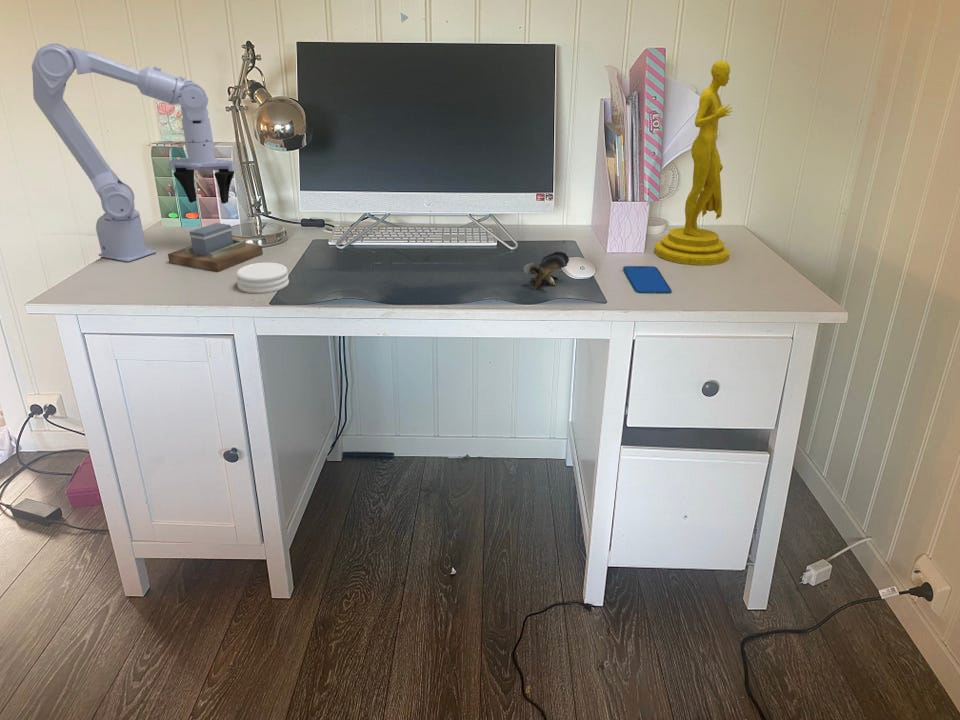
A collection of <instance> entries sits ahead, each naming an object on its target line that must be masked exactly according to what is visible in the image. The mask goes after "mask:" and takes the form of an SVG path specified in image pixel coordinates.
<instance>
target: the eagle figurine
mask: <svg viewBox="0 0 960 720" xmlns="http://www.w3.org/2000/svg"><path fill="white" fill-rule="evenodd" d="M569 261H570V258H569V256H568V255H567V253H566V252H563V251H554V252H552V253H549V254H548V255H545V256H543V257H542V259H541V261H540V263H539V266H537V265H536V264H535V263H533V262H531V263H530V262H529V263H528V264H526V265H524V266H523V271H524V273H525V274H526V275H531V276H533V275H534V276H535V277H530V279H529V280H532V281H535V283H534V284H535V285H534V289H535V288H536V289H538V287H540V286H541V285H542V281H546V282H548V283H550V285H553V286H554V285H555V286H556V281H555V280H554V278H556V279H559V276H555V275H554V274H553V271H557V270H559V269H563V268H566V267H567V266H568V263H569Z"/></svg>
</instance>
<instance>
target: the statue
mask: <svg viewBox="0 0 960 720" xmlns="http://www.w3.org/2000/svg"><path fill="white" fill-rule="evenodd" d="M730 66H731V65H730V64H729V62H728V61H725V60H718V61H716V62H714V63H713V65H712V66H711V70H710V72H711V73H710V75H711V77H712V79H711V83H710V85H709V86H708V87H707V88H705V89H704V90H703V91H702V92H701V94H700V97H699V104H698V110H697V113H696V116H695V120H694V126H695V127H696V128H699V132H698V134H697V136H696V137H695V139H694V140H693V143H692V144H691V157H692V161H693V174H692V187H691V190H690V192H689V193H688V195H687V198H686V200H685V206H684V207H685V208H684V214H685V224H684V227H676V228H672V229H670V230H669V231H668V233H667V234H666V235H663V236H662V238H661V240H659V241H657V242H656V243H655V244H654V248H653V253H655V255H656V256H658V257H659V258H661V259H664V260H666V261H668V262H673V263H677V264H683V265H691V266H692V265H693V266H712V265H718V264H723V263H725V262H727V261H729V257H730V250H729V249H728V248H727V247H726V246H725V242H724V241H723V240H721V239H720V237H719V236H720V235H719V234H718V233H717V232H715V231H712V230H709V229H706V228H699V227H698V222H697V221H698V217H699V216H700V213H701V215H702V216H701V217H702V218H703V217H704V216H705V215H707V212H714V213H716V216H715V220H717V219H720V218H721V217H722V212H723V211H722V209H723V202H722V201H723V199H722V185H721V174H720V173H721V172H722V170H723V169H724V167H723V164H722V163H721V157H720V153H719V151H718V148H717V138H718V127H719V119H721V118H725V117H729V116H731V114H730V113H732V112H733V111H732V110H731V109H733V106H730V105H731V103H728V104H727V105H724V104H722V101H721V99H720V98H721V96H720V95H719V93H718V91H719V89H720V87H726V86H727V84H728V83H729V80H730V73H731V67H730ZM729 106H730V107H729Z"/></svg>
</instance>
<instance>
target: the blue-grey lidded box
mask: <svg viewBox="0 0 960 720" xmlns="http://www.w3.org/2000/svg"><path fill="white" fill-rule="evenodd" d="M232 232H233V231H232V228H231V224H227V223H226V224H225V223H221V222H216V223H212V224H208V225H206V226H203V227H199V228H197V229H196V228H195V229H194V230H193V229H192V230H190V231H189V237H190V241H191V246H192V248H193V254H196V255H202V256H209V253H210V252H213V251H216V250H219V249H222V248H224V247H227V246H230V245H233V239H232V238H233V233H232Z"/></svg>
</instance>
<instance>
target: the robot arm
mask: <svg viewBox="0 0 960 720" xmlns="http://www.w3.org/2000/svg"><path fill="white" fill-rule="evenodd" d="M75 69H76V75H77V76H78V75H85V74H89V73H91V74H92V73H95V74H98V75H102V76H105V77H108V78H111V79H114V80H118V81H121V82H123V83H127V84H131V85H134V86H136V87H137V89H138V90H139V92H140V93H141V95H143V96H146V97H148V98H149V97H150V98H152V99H155V100H158V101H160V102H164V103H167V104H169V105H172V106H174V105H177V104H178V105H180V110H181V115H182V117H181V118H182V119H181V123H182V130H183V136H184V141H185V147H186V155H187V159H184V158H183V159H182V158H181V159H171V160H169V167H170V170H172V171H173V170H174V172H173V177H174V178H175V179H176V180H177V181H178V183H179V184H180V185H181V187H182V189H183V191H184V192H185V194H186V197H187V198H188V199H187V200H188V202H189V203H194V202H196V201H197V193H196V188H195V171H198V170H200V171H217V172H214V177H215V181H216V182H217V186H218V189H219V190H218V191H219V198H220V202H221V204H227V203H228V202H229V194H230V188H231V184H232V180H233V178H234V175H235V171H236V170H237V164H236V160H225V159H217V158H216V151H215V145H214V140H213V132H212V128H211V127H212V126H211V120H210V118H209V110H208V108H207V106H208V103H209V97H208V96H207V94H206V91H205V89H204V88H203V87H202V86H200V85H199V84H198V83H196V82H194V81H192V80H186V77H184V76H181V75H180V76H179V77H178V76H175V75H172V74H169V73H167V72H164V71H162V68H161V67H158V66H156V65H155V66H153V68H152V67H150V66H146V67H144V68H142V69H136V68H133V67H131V66H128V65H125V64H123V63H120V62H118V61H115V60H112V59H110V58H107V57H105V56H102V55H99V54H96V53H95V52H91V51H89V50H84V49H80V48H78V47H77V48H76V47H71V46H69V47H66V46H65V45H62V44H60V43H49V44H46V45H43V46H42V47H40V48H39V49H38V50H37V51H36V53H35V56H34V58H33V61H32V64H31V72H32V87H33V88H32V91H33V92H32V94H33V100H34V102H35V104H36V106H37V107H38V108H39V109H40V111H41V112H42V114H43V115H44V116H45V118H46V119H47V121H48V122H49V123H50V125H51V126H52V128H53V129H54V130H55V132H56V133H57V135H58V136H59V138H60V139H61V140H62V142H63V144H64V145H65V146H66V147H67V149H68V151H69V152H70V154H71V155H72V157H74V159H75V160H76V162H77V163H78V164H79V165H78V166H80V168H81V169H82V170H83V172H84V173H85V175H86V176H87V177H88V179H89V181H90V182H91V184H92V186H93V188H94V190H95V192H96V194H97V195H98V197H99V198H100V202H101V203H100V204H101V208H102V210H103V211H104V213H103V214H102V215H101V216H99V217H98V219H97V220H96V224H95V231H96V235H97V240H98V243H99V247H100V252H101V253H98V255H97V256H98V257H101V258H107V259H112V260H115V261H123V262H132V261H134V260H139V259H140V258H141V259H142V258H143V257H146V256H150V255H153V254H156V253H157V250H155V249H150V248H147V243H146V238H145V234H144V230H143V224H142V220H141V216H140V215H141V214H140V212H139V211H138V210H136V208H135V193H134V190H133V189H132V187H130V186H129V185H128V184H126V183H125V182H123V181H122V180H121V179H120V178H119V177H118V175H117V174H116V173H115V171H113V169H111V167H110V165H109V163H107V161H106V160H105V158H104V157H103V155H102V154H101V152H100V151H99V149H98V147H96V144H95V143H94V142H93V141H92V139H91V137H90V135H88V133H87V131H85V129H84V127H83V126H82V124H81V123H80V122H79V120H78V119H77V117H76V115H74V113H73V111H72V110H71V108H70V107H69V105H68V103H66V101H65V100H64V94H65V90H66V87H67V82H68V80H69V79H70V77H71V76H72V74H73V73H74V72H75Z"/></svg>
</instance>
